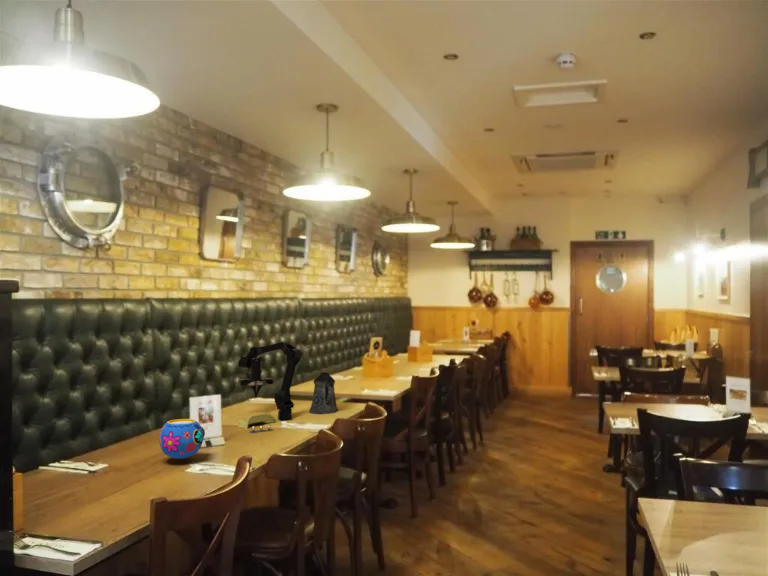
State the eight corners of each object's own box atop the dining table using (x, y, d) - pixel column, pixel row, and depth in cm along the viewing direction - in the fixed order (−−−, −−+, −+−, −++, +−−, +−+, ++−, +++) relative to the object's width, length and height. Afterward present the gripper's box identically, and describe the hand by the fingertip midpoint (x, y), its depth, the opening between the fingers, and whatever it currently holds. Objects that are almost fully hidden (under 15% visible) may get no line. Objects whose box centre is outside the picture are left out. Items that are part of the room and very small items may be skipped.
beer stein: (322, 413, 383) (323, 370, 383) (347, 416, 371) (348, 373, 372) (303, 416, 369) (304, 372, 370) (329, 420, 358) (329, 375, 359)
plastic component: (236, 425, 337) (247, 430, 330) (237, 411, 336) (248, 416, 330) (268, 419, 351) (279, 424, 344) (269, 406, 351) (280, 411, 344)
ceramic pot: (200, 462, 261) (201, 424, 261) (154, 463, 258) (155, 425, 258) (205, 452, 278) (206, 417, 278) (162, 453, 275) (163, 417, 275)
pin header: (272, 431, 326) (272, 424, 326) (273, 432, 323) (273, 425, 324) (248, 433, 320) (248, 426, 320) (250, 434, 318) (250, 427, 318)
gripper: (267, 367, 372) (267, 394, 371) (235, 368, 363) (235, 396, 363) (273, 369, 362) (273, 397, 361) (240, 370, 353) (240, 398, 353)
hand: (255, 397), depth 360 cm, fingers closed
